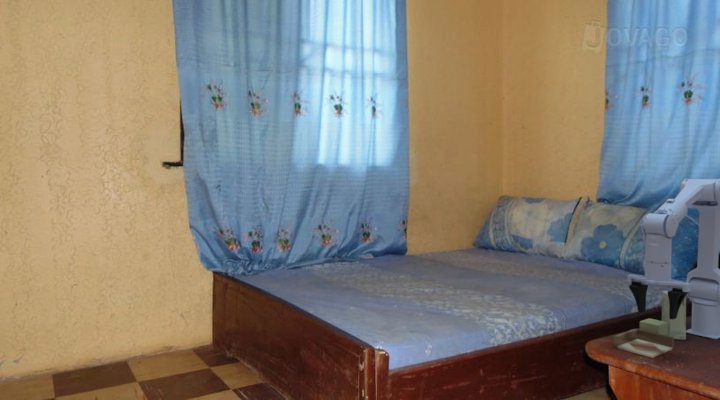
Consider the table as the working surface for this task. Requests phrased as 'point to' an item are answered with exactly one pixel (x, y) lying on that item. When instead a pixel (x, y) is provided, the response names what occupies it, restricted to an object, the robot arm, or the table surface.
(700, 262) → the robot arm
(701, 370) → the table surface
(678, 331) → the skincare box
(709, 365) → the table surface
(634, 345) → the arena
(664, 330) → the olive cube
